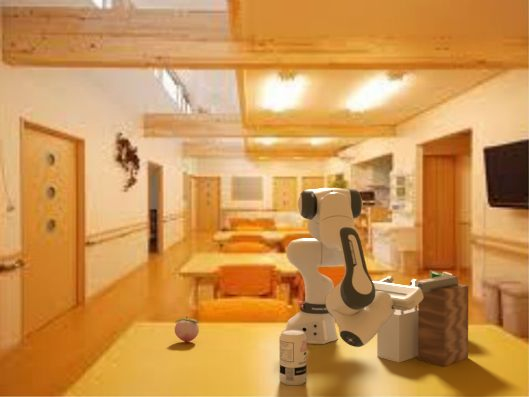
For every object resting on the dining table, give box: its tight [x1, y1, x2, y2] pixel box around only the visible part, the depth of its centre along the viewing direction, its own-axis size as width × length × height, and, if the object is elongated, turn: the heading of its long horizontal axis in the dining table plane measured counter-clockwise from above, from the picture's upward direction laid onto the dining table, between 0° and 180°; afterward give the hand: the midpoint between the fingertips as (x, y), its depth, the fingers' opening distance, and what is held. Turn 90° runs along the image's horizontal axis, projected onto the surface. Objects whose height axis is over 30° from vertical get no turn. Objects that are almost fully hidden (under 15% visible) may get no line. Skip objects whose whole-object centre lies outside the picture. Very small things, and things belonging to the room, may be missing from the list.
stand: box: [417, 283, 469, 368], centre depth 198 cm, size 15×10×25 cm, turn 131°
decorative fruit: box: [174, 316, 200, 343], centre depth 219 cm, size 9×8×10 cm
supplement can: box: [279, 329, 308, 386], centre depth 175 cm, size 8×8×15 cm
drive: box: [409, 275, 459, 293], centre depth 194 cm, size 22×4×3 cm, turn 131°
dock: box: [376, 305, 418, 363], centre depth 202 cm, size 14×9×18 cm, turn 131°
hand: (403, 279), depth 182 cm, fingers open, 8 cm apart
